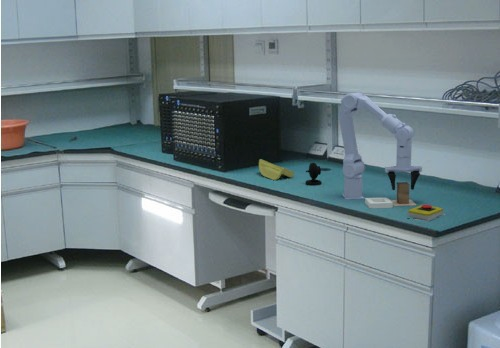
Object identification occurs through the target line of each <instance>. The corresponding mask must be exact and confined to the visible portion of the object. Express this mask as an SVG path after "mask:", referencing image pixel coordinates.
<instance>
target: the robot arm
mask: <svg viewBox="0 0 500 348" xmlns="http://www.w3.org/2000/svg"><path fill="white" fill-rule="evenodd" d="M357 110H366V111H367V112H368V113H370V114H371V115H373V116H374V117H375V118H377V119H378V120H380V121H381V126H383V127H384V128H385V129H386V130H387V131H389V132H390V133H391V134H393V135H394V138H395V140H396V161H395V162H396V163H395V164H396V165H395V166H384V172H385V173H386V175H387V176H388V178H389V182H390V184H391V190H392V191H395V190H396V177H397V175H396V173H409V172H410V189H411V190H412V191H413V190H414V189H415V185H416V183H417V181H418V179H419V177H420V175H421V172H423V167H422V166H419V165H412V143H413V142H412V140H413V137H414V135H415V131H414V129H413V127H412V126H411V125H409V124H406V123H405V122H402V120H400V119H399V118H397V115H396V114H392V113H388V114H387V113H386V112H385V111H383V110H382V109H381V108H380V107H379V106H378V105H377V104H376V103H374V102H373V100H371V99H370V98H369V96H368V95H365V94H364V93H363V92H362V91H361V92H360V91H356V92H352V93H347V94H345V95H344V96H343V97H342V98H341V100H340V106H339V111H338V119H339V125H340V133H341V137H342V144H343V149H344V158H343V160H342V173H343V175H344V185H343V186H344V187H343V188H344V189H343V191H344V193H341V195H342V196H343V197H344V199H346V200H360V199H365V198H366V197H365V196H364V195H363V173H364V172H365V170H366V164H365V163H364V161H363V160H362V156H361V154H360V153H359V150H358V143H357V138H356V132H355V126H354V120H353V116H354V114H355V113H356V112H357Z"/></svg>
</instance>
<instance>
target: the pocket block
mask: <svg viewBox="0 0 500 348" xmlns="http://www.w3.org/2000/svg"><path fill="white" fill-rule="evenodd" d="M364 198H365V200H364V203H365V205H366V206H367V207H368V208H369V209H393V207H394V205H393V203H392V202H391V201H390V200H391V199H389V198H388V197H364Z"/></svg>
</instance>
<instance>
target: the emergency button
mask: <svg viewBox="0 0 500 348" xmlns="http://www.w3.org/2000/svg"><path fill="white" fill-rule="evenodd" d="M440 216H443V217H444V216H446V213H444V208H442V207H437V206H432V205H431V204H421V205H418V206H416V207H413V208H410V209H408V211H407V219H406V220H409V219H410V218H413V219H415V220H424V221H428V222H431V221H433V219H434V220H436V219H438V218H440ZM408 217H409V218H408ZM430 220H431V221H430Z"/></svg>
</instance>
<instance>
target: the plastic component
mask: <svg viewBox="0 0 500 348" xmlns="http://www.w3.org/2000/svg"><path fill="white" fill-rule="evenodd" d="M258 169H259V172H260V174H261V175H262V176H263V177H265V178H268V179H271V180H273V181H277V180H279V179H280V178H281V176H286V177H288V178H291V179H292V178H293V176H294V174H295V171H292V170H290V169H288V168H286V167H282V166H279V165H277V164H274V163H271V162H269V161H267V160H264V159H262V158H261V159H259V160H258Z"/></svg>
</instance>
